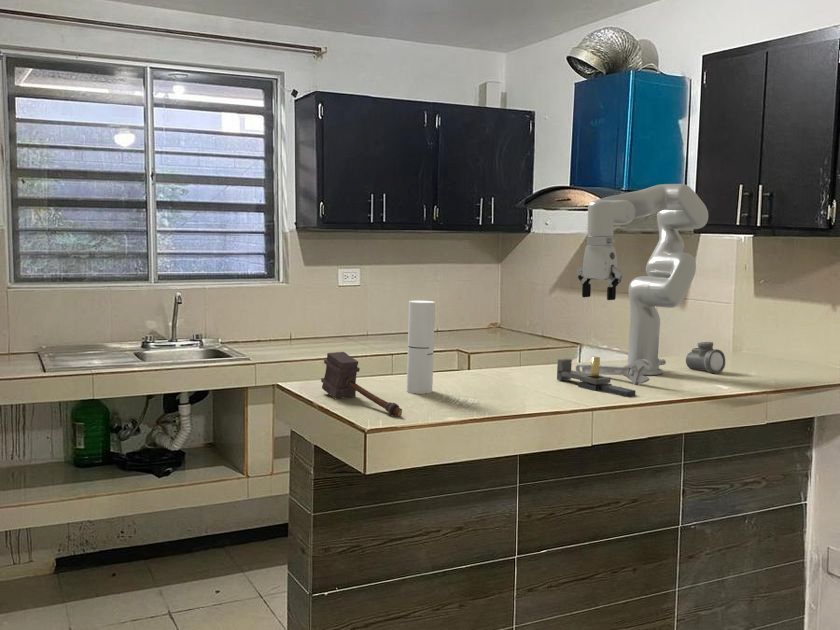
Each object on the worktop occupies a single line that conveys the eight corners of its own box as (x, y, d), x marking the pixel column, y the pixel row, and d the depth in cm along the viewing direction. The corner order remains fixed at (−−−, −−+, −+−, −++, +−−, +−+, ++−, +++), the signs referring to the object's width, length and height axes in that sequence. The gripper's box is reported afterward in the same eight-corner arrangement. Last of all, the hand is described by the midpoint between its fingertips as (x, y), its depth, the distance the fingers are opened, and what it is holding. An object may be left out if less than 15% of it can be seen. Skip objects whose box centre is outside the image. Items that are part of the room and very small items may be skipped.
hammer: (341, 385, 220) (345, 350, 217) (408, 435, 195) (414, 396, 192) (319, 387, 216) (323, 352, 213) (385, 439, 191) (390, 399, 188)
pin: (593, 386, 237) (595, 356, 236) (600, 387, 235) (601, 357, 234) (588, 387, 236) (589, 357, 235) (594, 388, 234) (596, 358, 233)
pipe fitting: (728, 371, 267) (725, 341, 267) (711, 375, 264) (708, 344, 263) (699, 370, 278) (697, 340, 277) (683, 373, 274) (680, 343, 274)
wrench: (579, 380, 262) (654, 386, 238) (575, 381, 261) (650, 386, 237) (578, 356, 262) (653, 359, 238) (574, 357, 261) (649, 359, 237)
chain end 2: (593, 384, 240) (594, 380, 240) (638, 394, 227) (638, 390, 226) (577, 386, 236) (578, 382, 236) (622, 397, 223) (622, 392, 222)
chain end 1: (568, 378, 248) (569, 358, 247) (610, 387, 235) (611, 366, 234) (554, 379, 244) (555, 359, 244) (595, 389, 231) (596, 368, 230)
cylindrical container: (402, 389, 225) (405, 300, 222) (426, 388, 228) (428, 300, 225) (412, 394, 218) (415, 303, 216) (436, 393, 221) (439, 302, 218)
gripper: (631, 242, 237) (629, 300, 240) (586, 240, 251) (584, 295, 253) (614, 243, 233) (613, 302, 235) (569, 241, 246) (568, 296, 249)
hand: (598, 298), depth 244 cm, fingers open, 9 cm apart
